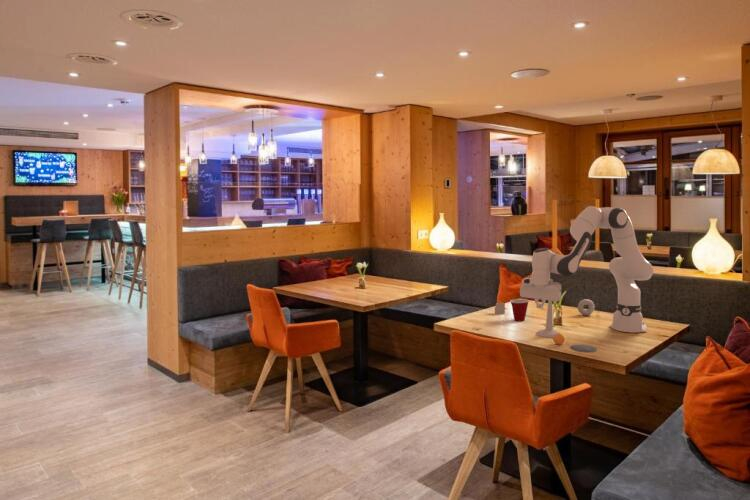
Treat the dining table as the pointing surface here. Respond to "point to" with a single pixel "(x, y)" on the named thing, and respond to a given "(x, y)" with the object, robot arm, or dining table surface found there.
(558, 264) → the robot arm
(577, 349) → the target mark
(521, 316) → the plastic cup
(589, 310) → the donut
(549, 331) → the candlestick
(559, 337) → the ball
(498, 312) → the architectural model
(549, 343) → the dining table surface
